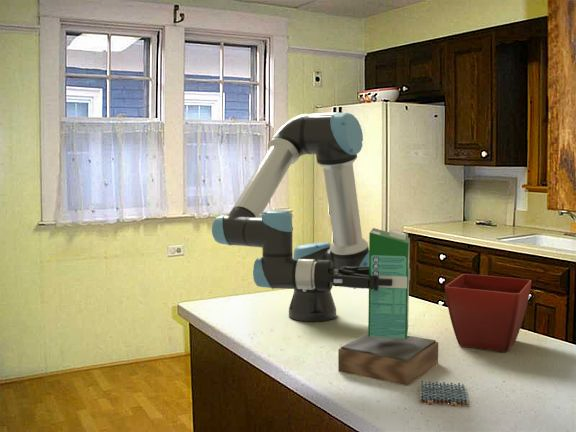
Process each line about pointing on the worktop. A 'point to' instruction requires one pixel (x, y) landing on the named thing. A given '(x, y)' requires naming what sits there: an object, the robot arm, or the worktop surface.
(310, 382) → the worktop surface
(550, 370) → the worktop surface
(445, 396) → the woven mat
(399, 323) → the milk carton
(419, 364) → the podium
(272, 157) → the robot arm
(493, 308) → the plant pot
